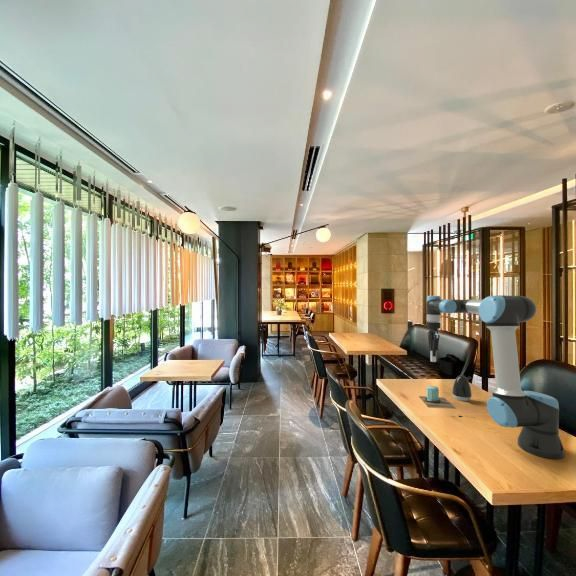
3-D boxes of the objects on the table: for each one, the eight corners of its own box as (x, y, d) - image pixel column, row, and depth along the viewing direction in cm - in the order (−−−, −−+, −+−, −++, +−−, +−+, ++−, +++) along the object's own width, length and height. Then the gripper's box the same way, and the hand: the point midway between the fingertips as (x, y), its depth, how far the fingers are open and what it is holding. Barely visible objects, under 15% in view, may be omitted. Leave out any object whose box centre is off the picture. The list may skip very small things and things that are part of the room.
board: (456, 410, 169) (456, 408, 169) (428, 409, 171) (428, 407, 171) (443, 399, 187) (443, 397, 187) (418, 397, 188) (418, 396, 188)
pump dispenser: (475, 403, 179) (475, 377, 179) (457, 403, 180) (457, 377, 180) (465, 397, 190) (466, 373, 190) (449, 397, 190) (449, 372, 190)
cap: (439, 401, 178) (439, 389, 178) (429, 400, 178) (429, 388, 178) (436, 397, 184) (436, 385, 184) (425, 397, 184) (425, 385, 184)
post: (442, 403, 176) (442, 394, 176) (427, 402, 177) (428, 393, 177) (437, 398, 184) (437, 389, 184) (423, 398, 185) (423, 389, 185)
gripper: (444, 323, 174) (444, 364, 174) (436, 320, 187) (435, 359, 187) (430, 322, 175) (430, 363, 175) (423, 320, 188) (423, 358, 188)
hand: (433, 361), depth 181 cm, fingers closed
